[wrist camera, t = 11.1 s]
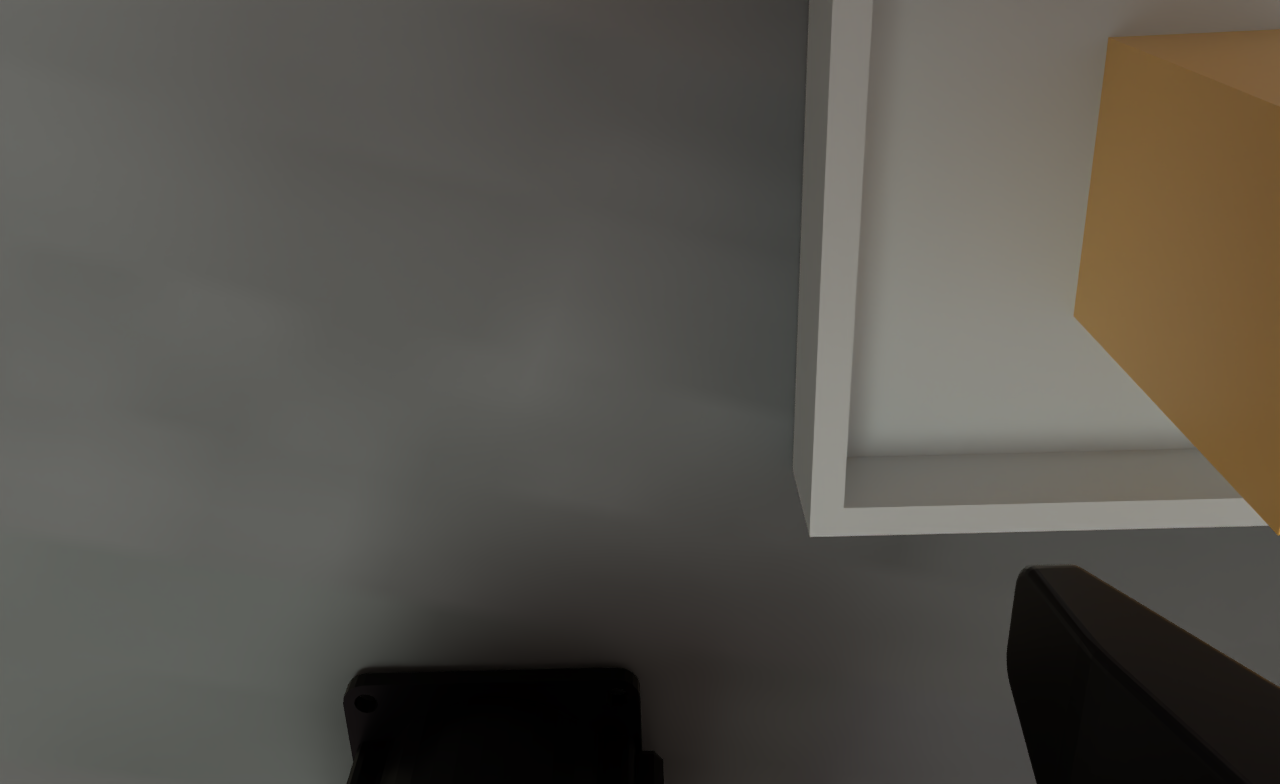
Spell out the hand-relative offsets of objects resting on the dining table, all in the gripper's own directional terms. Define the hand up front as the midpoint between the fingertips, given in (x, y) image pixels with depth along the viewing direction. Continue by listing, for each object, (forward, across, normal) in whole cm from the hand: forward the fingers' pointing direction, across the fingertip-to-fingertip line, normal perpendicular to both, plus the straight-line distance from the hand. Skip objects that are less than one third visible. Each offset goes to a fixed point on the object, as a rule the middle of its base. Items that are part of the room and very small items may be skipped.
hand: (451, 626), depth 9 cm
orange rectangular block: (+12, -11, 0) cm, 17 cm away
